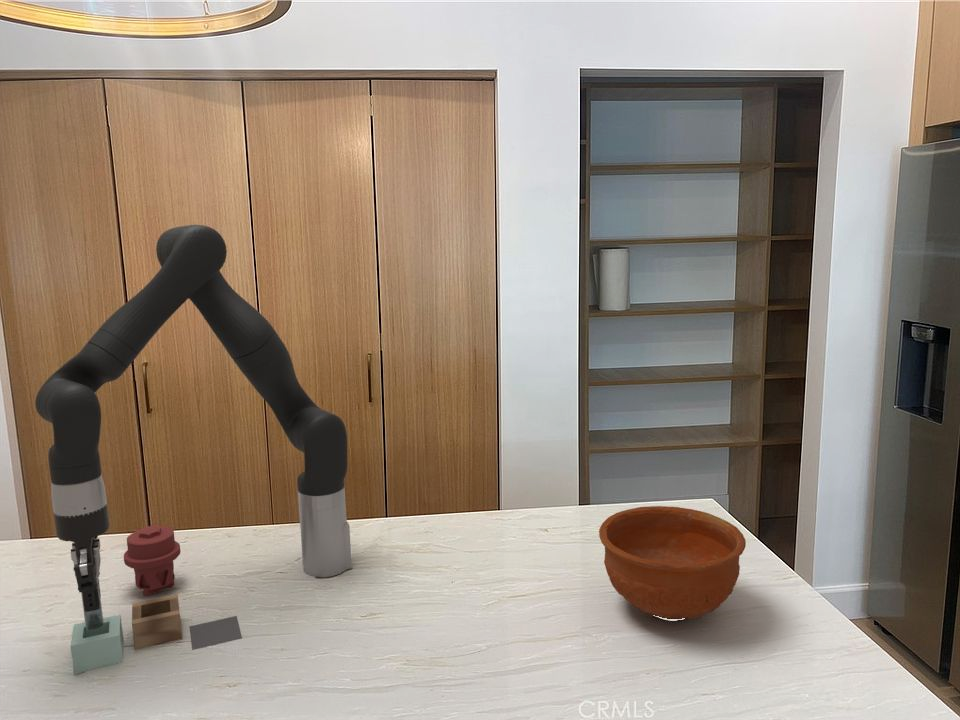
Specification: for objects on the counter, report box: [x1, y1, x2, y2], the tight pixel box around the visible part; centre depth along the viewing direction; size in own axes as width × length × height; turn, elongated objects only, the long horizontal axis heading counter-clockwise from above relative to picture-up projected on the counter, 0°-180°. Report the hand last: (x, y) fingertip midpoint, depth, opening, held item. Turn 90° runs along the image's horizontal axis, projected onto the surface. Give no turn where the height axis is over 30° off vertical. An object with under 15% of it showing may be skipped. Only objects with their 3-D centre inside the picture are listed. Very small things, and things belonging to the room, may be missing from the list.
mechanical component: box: [123, 525, 182, 597], centre depth 144 cm, size 12×10×10 cm
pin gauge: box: [80, 563, 104, 630], centre depth 120 cm, size 3×3×11 cm
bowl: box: [598, 505, 747, 620], centre depth 132 cm, size 25×25×15 cm
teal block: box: [69, 614, 125, 675], centre depth 122 cm, size 7×7×5 cm
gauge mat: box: [188, 615, 243, 651], centre depth 129 cm, size 8×8×1 cm
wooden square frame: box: [131, 593, 183, 651], centre depth 128 cm, size 7×7×5 cm
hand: (92, 604), depth 121 cm, fingers closed on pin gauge, 2 cm apart
